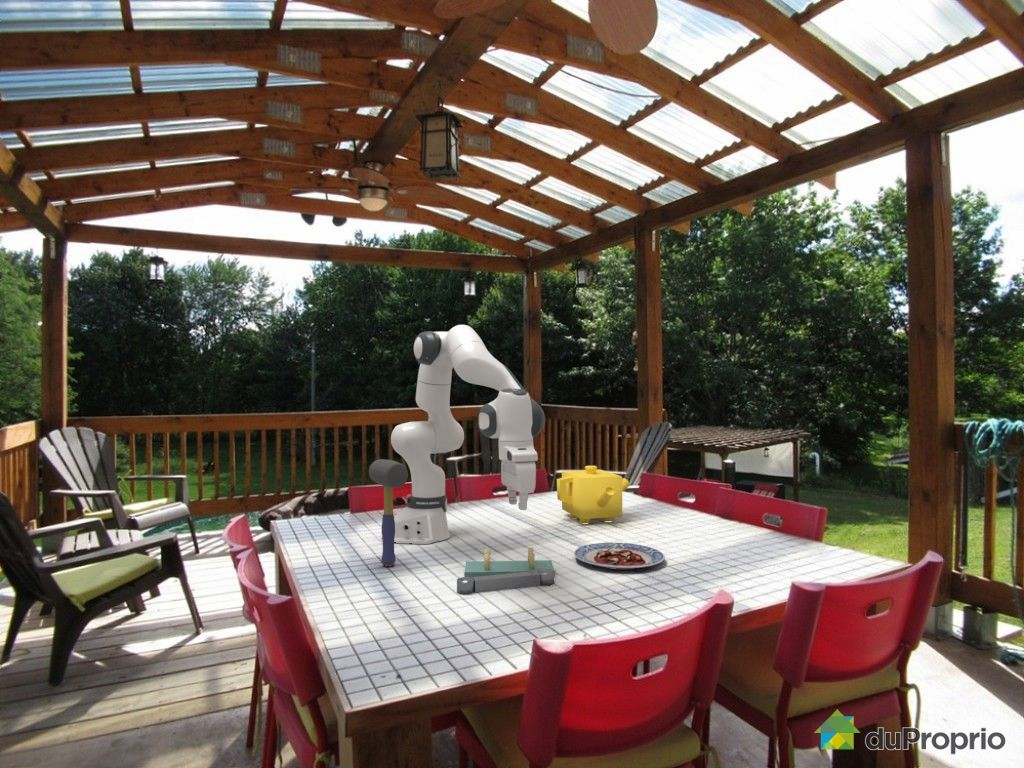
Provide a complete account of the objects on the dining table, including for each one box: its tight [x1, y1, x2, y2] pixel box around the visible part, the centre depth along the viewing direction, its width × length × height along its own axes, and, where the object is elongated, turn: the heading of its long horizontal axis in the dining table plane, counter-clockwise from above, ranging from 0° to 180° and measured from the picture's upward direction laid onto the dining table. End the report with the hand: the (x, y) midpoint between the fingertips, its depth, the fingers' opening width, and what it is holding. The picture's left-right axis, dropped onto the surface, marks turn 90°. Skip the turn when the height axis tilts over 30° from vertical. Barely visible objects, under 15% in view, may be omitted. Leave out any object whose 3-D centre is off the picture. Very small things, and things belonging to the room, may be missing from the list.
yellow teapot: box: [556, 465, 631, 524], centre depth 233 cm, size 35×29×20 cm
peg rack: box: [463, 547, 556, 578], centre depth 168 cm, size 24×10×6 cm, turn 92°
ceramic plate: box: [573, 542, 666, 570], centre depth 178 cm, size 26×26×3 cm
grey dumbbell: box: [456, 569, 555, 596], centre depth 155 cm, size 25×4×3 cm, turn 107°
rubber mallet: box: [368, 458, 409, 567], centre depth 174 cm, size 12×8×30 cm, turn 37°
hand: (517, 506), depth 156 cm, fingers open, 8 cm apart
